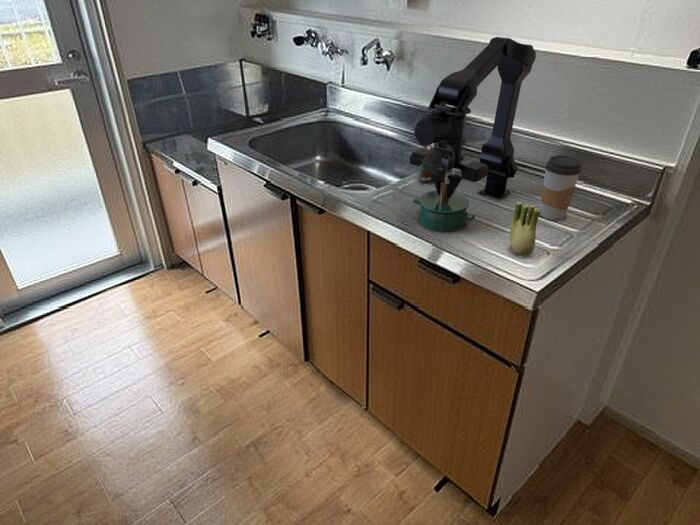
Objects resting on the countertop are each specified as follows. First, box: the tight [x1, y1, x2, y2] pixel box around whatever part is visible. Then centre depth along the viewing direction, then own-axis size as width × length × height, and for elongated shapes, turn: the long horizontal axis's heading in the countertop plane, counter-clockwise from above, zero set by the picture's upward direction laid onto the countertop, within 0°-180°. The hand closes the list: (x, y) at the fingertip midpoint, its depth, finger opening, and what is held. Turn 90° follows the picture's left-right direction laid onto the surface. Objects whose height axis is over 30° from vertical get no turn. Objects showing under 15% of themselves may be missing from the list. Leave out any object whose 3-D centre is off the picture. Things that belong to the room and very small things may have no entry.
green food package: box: [420, 143, 434, 184], centre depth 149 cm, size 12×6×10 cm, turn 168°
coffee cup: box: [539, 154, 582, 221], centre depth 126 cm, size 8×8×15 cm
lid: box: [419, 179, 470, 213], centre depth 123 cm, size 12×12×6 cm
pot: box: [412, 196, 476, 233], centre depth 125 cm, size 11×17×5 cm
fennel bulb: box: [509, 201, 541, 257], centre depth 110 cm, size 6×5×12 cm
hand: (444, 196), depth 123 cm, fingers closed on lid, 2 cm apart
